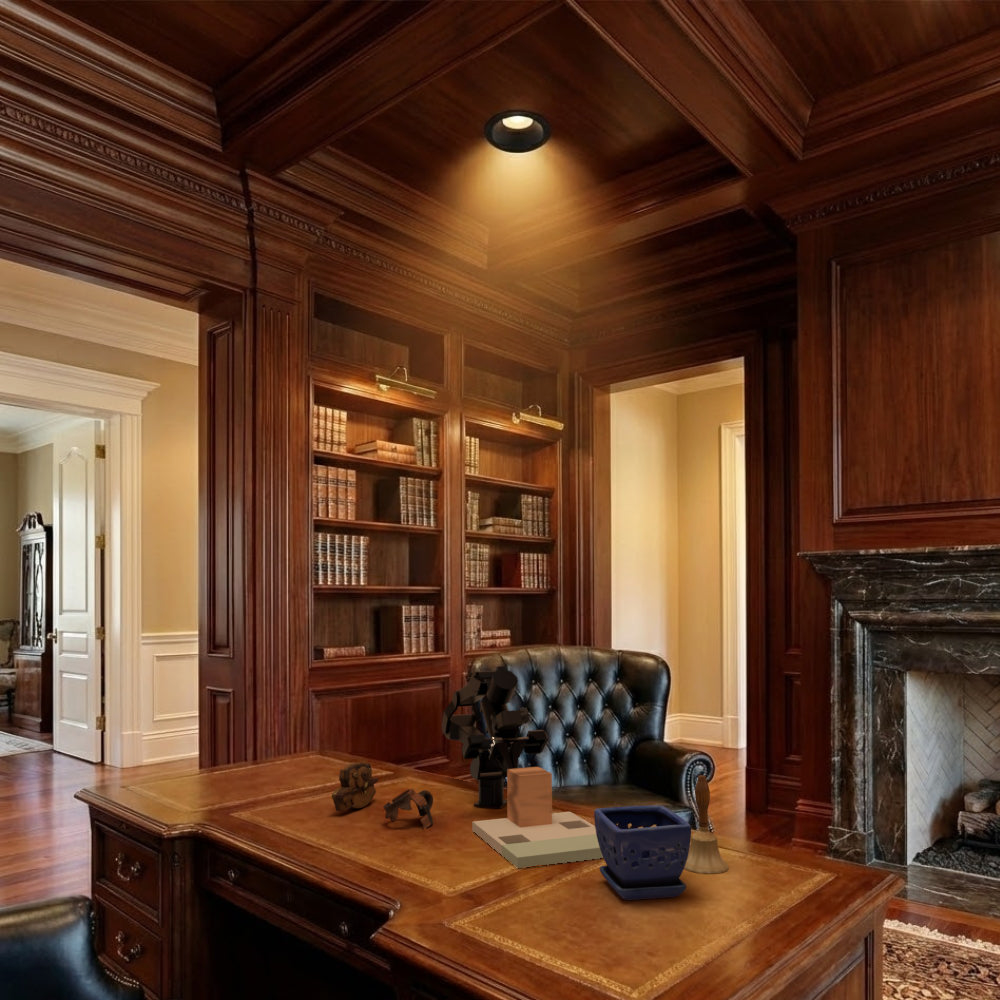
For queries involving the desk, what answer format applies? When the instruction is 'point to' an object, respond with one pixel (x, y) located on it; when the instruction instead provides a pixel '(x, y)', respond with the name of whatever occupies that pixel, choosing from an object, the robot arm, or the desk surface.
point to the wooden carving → (354, 787)
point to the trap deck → (531, 830)
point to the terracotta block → (529, 796)
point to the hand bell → (704, 837)
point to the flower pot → (643, 850)
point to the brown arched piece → (404, 802)
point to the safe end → (552, 851)
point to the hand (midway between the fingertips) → (514, 777)
